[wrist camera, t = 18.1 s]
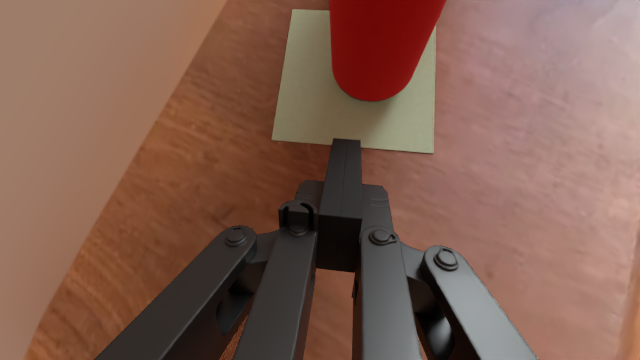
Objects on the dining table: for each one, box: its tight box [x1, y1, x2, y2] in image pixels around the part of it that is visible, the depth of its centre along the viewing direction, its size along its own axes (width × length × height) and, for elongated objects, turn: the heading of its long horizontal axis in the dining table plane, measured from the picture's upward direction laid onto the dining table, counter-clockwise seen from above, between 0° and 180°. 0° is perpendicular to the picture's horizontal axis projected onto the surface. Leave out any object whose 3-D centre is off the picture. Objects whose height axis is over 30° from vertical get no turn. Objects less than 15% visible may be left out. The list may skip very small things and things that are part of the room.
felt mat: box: [271, 9, 436, 154], centre depth 21 cm, size 12×12×1 cm
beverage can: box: [329, 0, 446, 102], centre depth 15 cm, size 6×6×12 cm
